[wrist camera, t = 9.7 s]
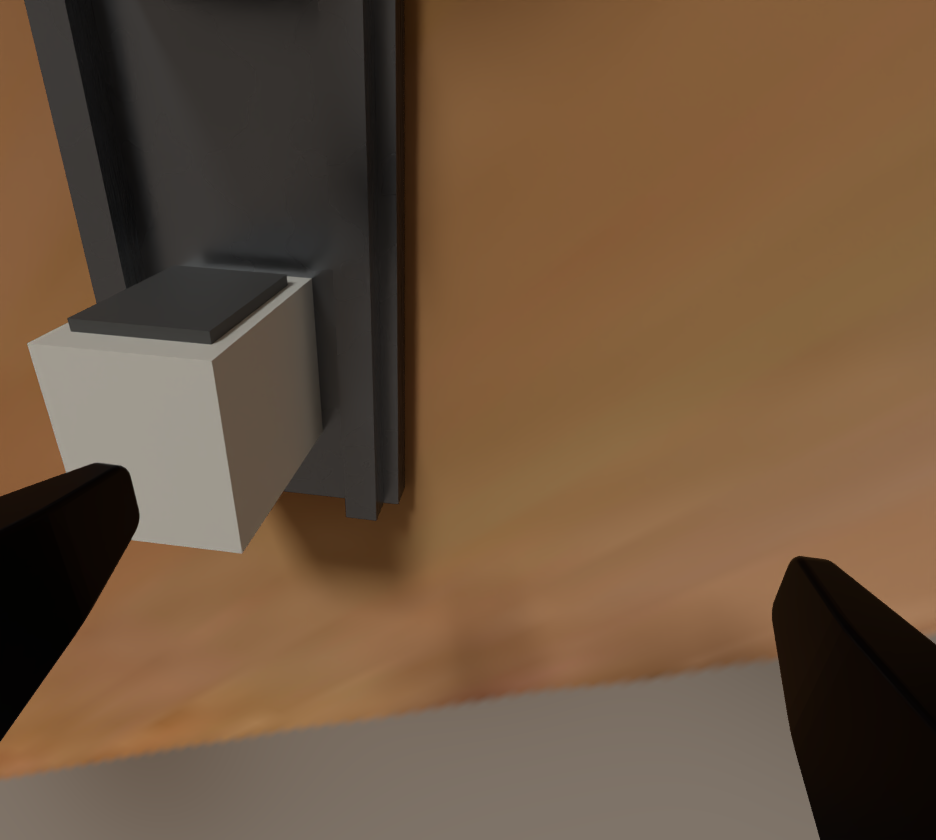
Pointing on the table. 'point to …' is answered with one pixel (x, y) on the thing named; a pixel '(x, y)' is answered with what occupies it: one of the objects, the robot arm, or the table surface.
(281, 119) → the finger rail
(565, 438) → the table surface
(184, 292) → the block
